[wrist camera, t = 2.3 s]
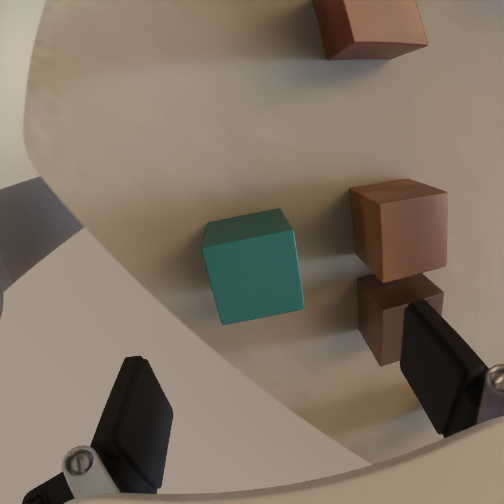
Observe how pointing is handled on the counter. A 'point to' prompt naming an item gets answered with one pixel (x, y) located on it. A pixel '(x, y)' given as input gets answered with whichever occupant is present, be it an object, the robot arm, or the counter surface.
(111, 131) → the counter surface
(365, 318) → the walnut block
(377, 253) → the oak block
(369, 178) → the counter surface
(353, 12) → the dark cherry block
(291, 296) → the teal block
